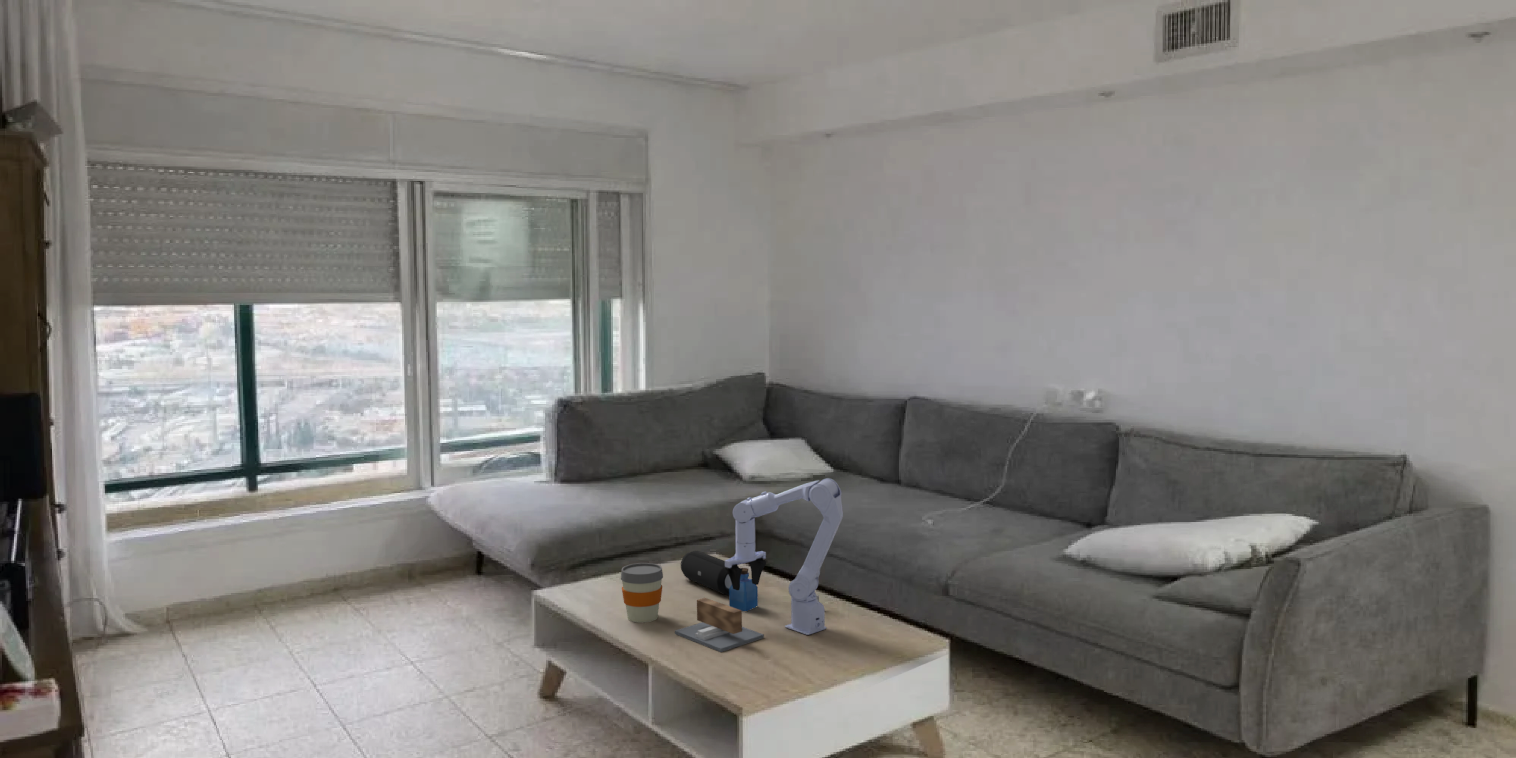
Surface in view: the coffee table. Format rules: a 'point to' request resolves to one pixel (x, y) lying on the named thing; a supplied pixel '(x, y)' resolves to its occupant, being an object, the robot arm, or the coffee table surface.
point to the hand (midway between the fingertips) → (745, 586)
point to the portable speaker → (706, 571)
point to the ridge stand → (718, 636)
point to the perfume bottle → (744, 593)
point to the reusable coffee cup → (642, 591)
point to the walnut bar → (719, 615)
